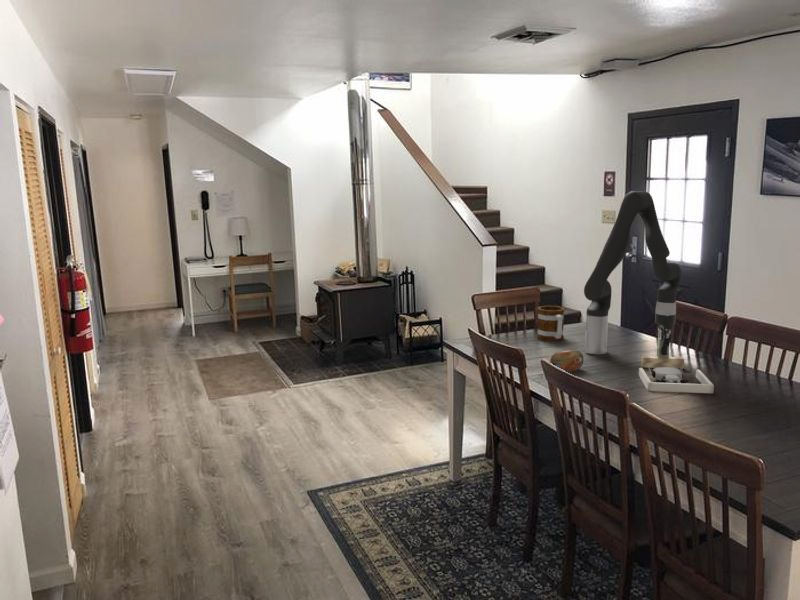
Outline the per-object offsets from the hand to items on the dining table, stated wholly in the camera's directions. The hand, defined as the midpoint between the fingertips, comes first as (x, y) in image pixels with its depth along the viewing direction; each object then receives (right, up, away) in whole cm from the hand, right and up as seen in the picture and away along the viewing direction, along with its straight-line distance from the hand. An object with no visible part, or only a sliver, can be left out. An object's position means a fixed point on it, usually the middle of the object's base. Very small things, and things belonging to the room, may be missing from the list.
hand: (663, 353), depth 261 cm
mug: (-33, +2, +50) cm, 60 cm away
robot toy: (-5, -10, -18) cm, 21 cm away
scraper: (0, -6, +1) cm, 6 cm away
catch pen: (-3, -10, -18) cm, 21 cm away
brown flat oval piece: (-39, -7, +1) cm, 40 cm away
